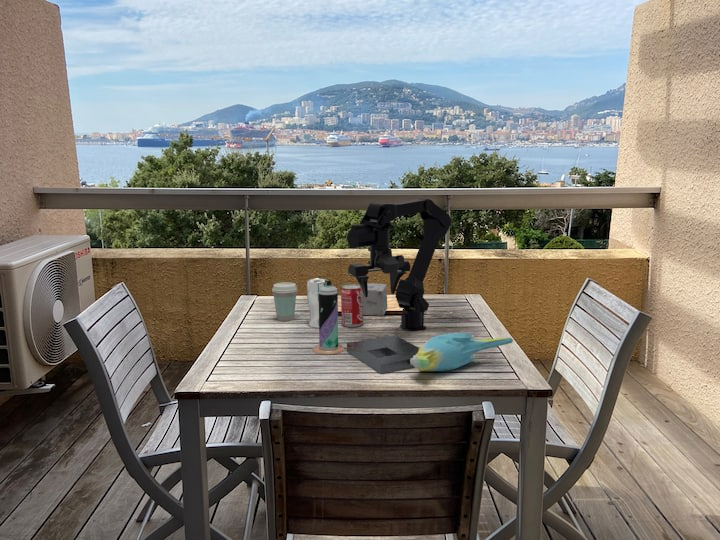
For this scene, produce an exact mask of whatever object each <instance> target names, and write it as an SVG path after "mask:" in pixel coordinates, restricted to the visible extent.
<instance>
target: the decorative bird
mask: <svg viewBox="0 0 720 540" xmlns="http://www.w3.org/2000/svg"><path fill="white" fill-rule="evenodd" d="M474 337H475V335H474V334H470V333H467V332H460V333H459V332H456V333H445V334H439V335H436V336H433V337H431V338H430V339H428V341H427V342H425V343H423V344H421V345H420V346H418V347H419V350H418V353H417V354H416V355H414V356H413V358H411V359H408V361H407V363H408V364H411V365H413V366H414V368H415V369H417V370H418V371H420V372H423V371H428V372H445V371H446V372H447V371H452V370H455V369H458V368H461V367H463V366H465V365H467V364H469V363H472V362H474V360H476V359H477V357H472V356H473V355H474V354H476V353H478V352H480V351H483V350H486V349H493V348H497V347H500V346H504V345H508V344H509V345H510V344H512V343H513V342H514V339H513V338H512V337H503V338H487V339H485V338H484V339H483V338H482V339H473V338H474Z"/></svg>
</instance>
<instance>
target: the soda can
mask: <svg viewBox="0 0 720 540" xmlns="http://www.w3.org/2000/svg"><path fill="white" fill-rule="evenodd" d="M340 302H341V303H340V306H341V307H340V308H341V309H340V310H341V311H340V312H341V325H343V326H344V327H346V328H358V327H361V326H362V325H363V324H364V315H363V291H362V289H361V287H360V284H354V283H353V284H345V285H342V287H341V290H340Z"/></svg>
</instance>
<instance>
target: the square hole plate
mask: <svg viewBox="0 0 720 540" xmlns="http://www.w3.org/2000/svg"><path fill="white" fill-rule="evenodd" d="M419 347H420V346H417V345H414V344H413V343H411V342H409V341H407V340H406V339H403V338H401V337H400V336H398V335H396V334H395V335H389V336H388V335H387V336H381V337H376V338H368V339H362V340H356V341H351V342H346V352H348V353H349V354H351V355H352V356H353V357H355V358H356V359H358V361H359V360H360V362H362V363H364V364H365V365H366V366H368V367H370V368H371V369H372V370H374V371H375V372H376V373H379V374H380V375H382V374H387V373H393V372H397V371H402V370H407V369H408V370H409V369H412V368H413V369H414V368H415V367H414V366H413V365H411V364H408V363H407V361H408V359H411V358H413V356H414V355H416V354H417V353H418V350H419Z"/></svg>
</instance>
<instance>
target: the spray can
mask: <svg viewBox="0 0 720 540" xmlns="http://www.w3.org/2000/svg"><path fill="white" fill-rule="evenodd" d="M318 293H319V328H318V329H319V330H318V334H319V335H318V337H319V338H318V339H319V343H318V345H319V347H320V349H321V350H324V351H333V350H336V349H338V344H339V300H338V299H339V297H338V296H339V293H338V288H337V287H336V286H334V284H333V283H332V280H328V279H326V280H325V283H324V285H323V286H322V287H321V288H319V292H318Z"/></svg>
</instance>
